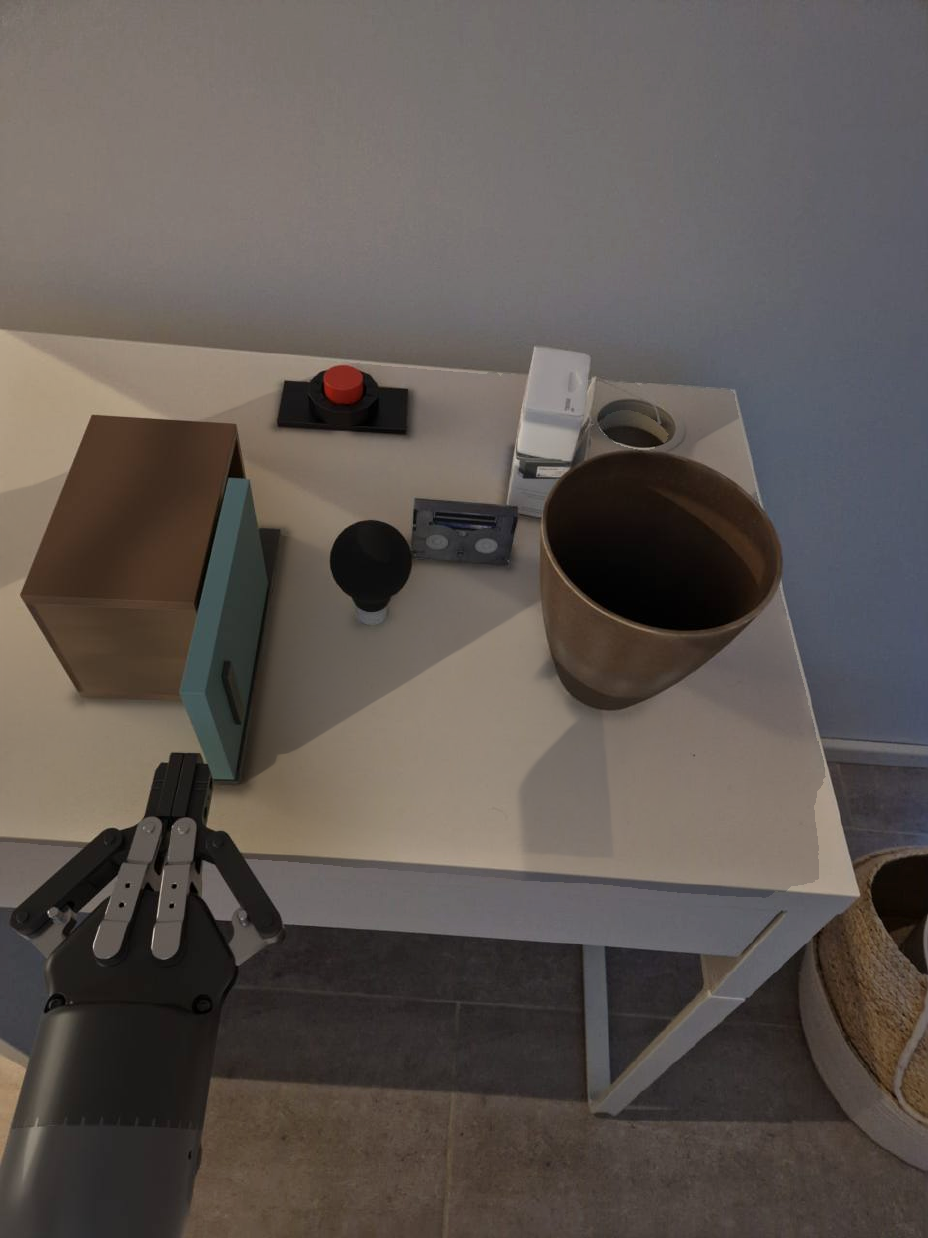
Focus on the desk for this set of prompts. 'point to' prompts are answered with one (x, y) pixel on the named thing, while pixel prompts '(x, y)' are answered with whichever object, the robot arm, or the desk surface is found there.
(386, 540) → the light bulb
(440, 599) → the desk surface
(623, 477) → the plant pot
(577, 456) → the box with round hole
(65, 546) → the cabinet
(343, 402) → the button
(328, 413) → the button box
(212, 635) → the door
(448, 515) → the mini dv tape
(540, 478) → the ink box
